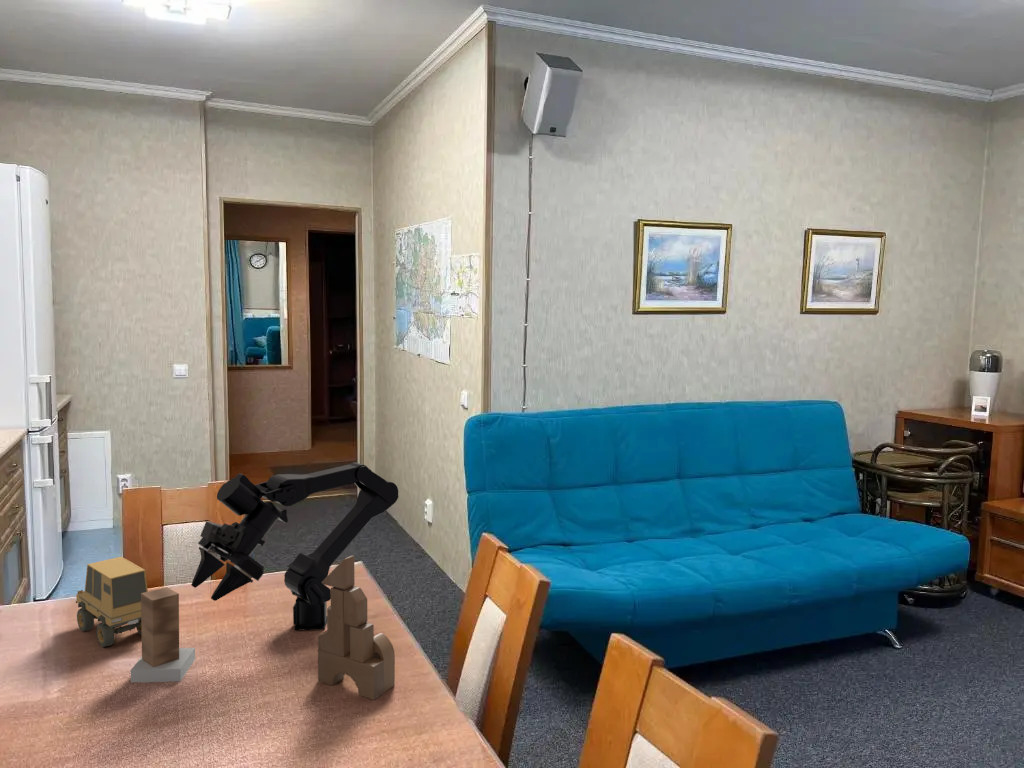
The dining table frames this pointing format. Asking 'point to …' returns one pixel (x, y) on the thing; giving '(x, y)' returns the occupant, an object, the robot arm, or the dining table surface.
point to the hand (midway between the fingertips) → (202, 593)
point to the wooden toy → (353, 639)
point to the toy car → (111, 598)
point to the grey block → (164, 668)
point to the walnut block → (160, 626)
